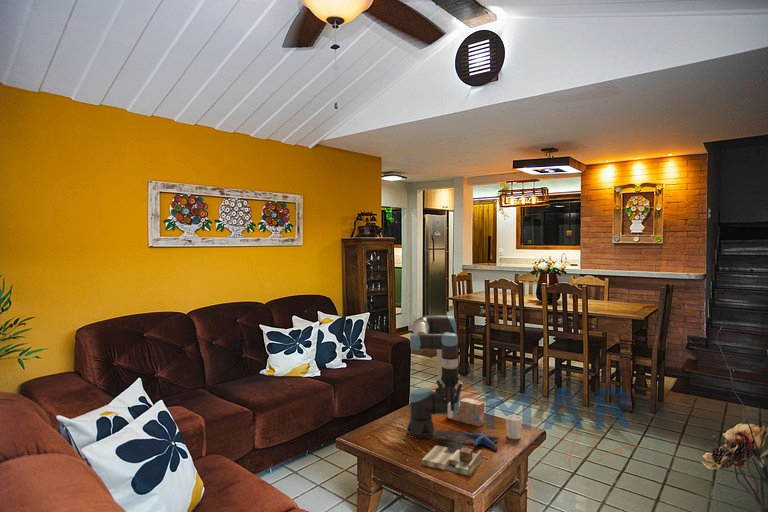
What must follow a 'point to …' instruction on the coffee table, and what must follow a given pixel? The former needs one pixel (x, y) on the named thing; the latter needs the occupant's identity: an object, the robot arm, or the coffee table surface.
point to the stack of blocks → (470, 412)
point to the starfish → (483, 439)
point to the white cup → (513, 426)
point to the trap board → (451, 460)
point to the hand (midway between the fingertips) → (450, 416)
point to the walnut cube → (466, 455)
